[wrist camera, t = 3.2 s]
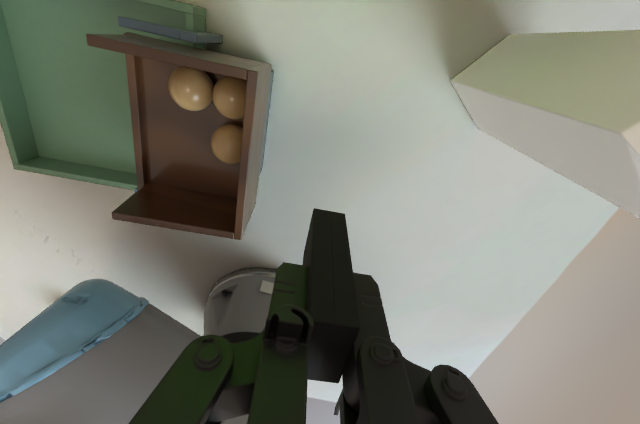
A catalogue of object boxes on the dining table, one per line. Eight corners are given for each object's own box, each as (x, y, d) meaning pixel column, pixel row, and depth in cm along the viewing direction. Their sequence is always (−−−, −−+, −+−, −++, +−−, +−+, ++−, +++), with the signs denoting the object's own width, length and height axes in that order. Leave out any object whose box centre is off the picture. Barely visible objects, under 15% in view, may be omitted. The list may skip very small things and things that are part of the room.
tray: (202, 188, 34) (192, 200, 32) (38, 158, 33) (14, 169, 30) (206, 8, 26) (193, 5, 23) (-13, -44, 24) (-54, -54, 22)
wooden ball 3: (246, 156, 26) (251, 171, 24) (209, 154, 25) (211, 169, 23) (250, 121, 25) (255, 133, 22) (210, 117, 24) (212, 129, 21)
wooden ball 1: (202, 105, 24) (220, 116, 22) (162, 103, 22) (178, 116, 20) (203, 63, 23) (222, 72, 21) (160, 58, 21) (177, 67, 19)
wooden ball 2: (250, 115, 24) (256, 126, 22) (210, 110, 23) (212, 122, 21) (254, 75, 23) (261, 83, 21) (212, 68, 22) (214, 75, 19)
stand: (260, 185, 34) (247, 214, 28) (167, 168, 33) (134, 194, 27) (276, 48, 28) (265, 49, 22) (161, 21, 27) (117, 15, 21)
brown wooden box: (256, 202, 29) (241, 240, 23) (142, 181, 28) (97, 217, 22) (272, 64, 23) (257, 71, 18) (129, 31, 22) (65, 29, 16)
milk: (534, 88, 29) (951, 182, 10) (476, 129, 31) (733, 274, 12) (508, 32, 27) (987, 14, 8) (447, 79, 29) (709, 161, 10)
